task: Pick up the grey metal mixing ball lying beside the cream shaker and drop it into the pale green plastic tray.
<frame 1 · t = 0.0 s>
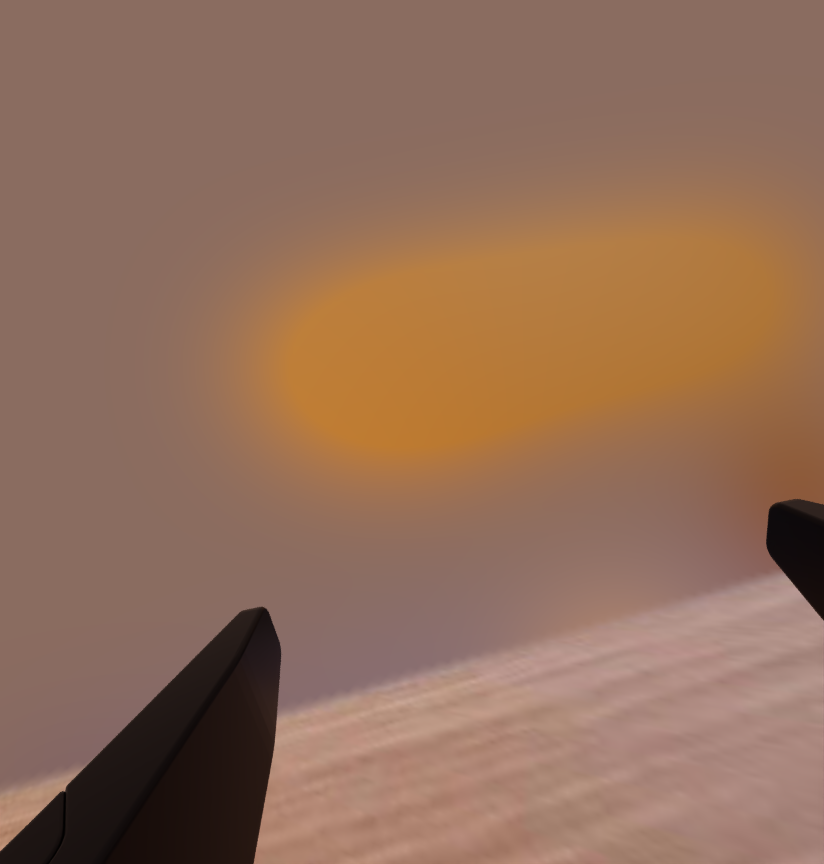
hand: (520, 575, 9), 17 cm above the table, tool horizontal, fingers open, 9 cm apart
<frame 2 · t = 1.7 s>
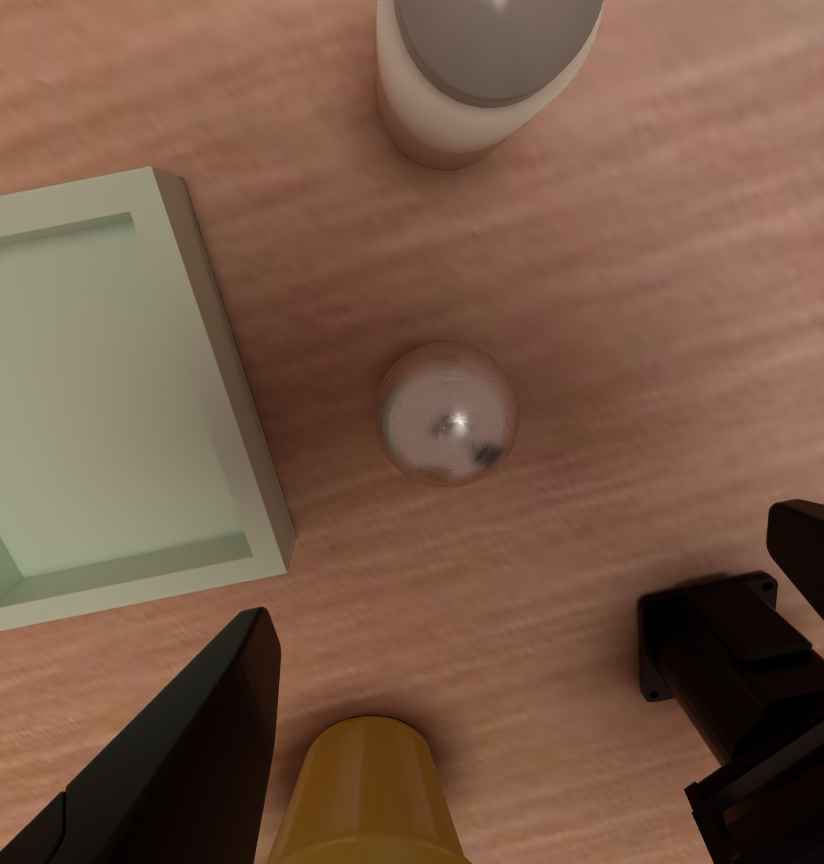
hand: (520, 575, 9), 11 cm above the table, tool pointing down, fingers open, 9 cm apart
plant pot: (366, 755, 26), on the table
shaker: (447, 90, 16), on the table
ball: (437, 395, 19), on the table
tray: (91, 412, 19), on the table
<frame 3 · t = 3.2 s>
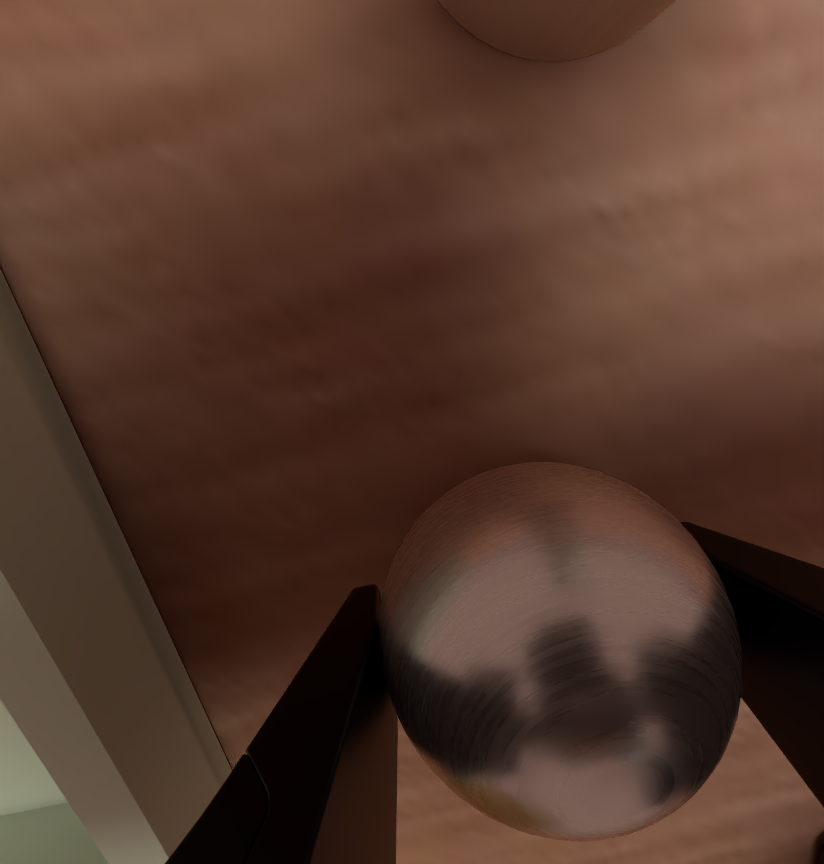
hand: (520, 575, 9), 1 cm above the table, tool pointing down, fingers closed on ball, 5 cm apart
ball: (502, 536, 10), on the table, touching gripper
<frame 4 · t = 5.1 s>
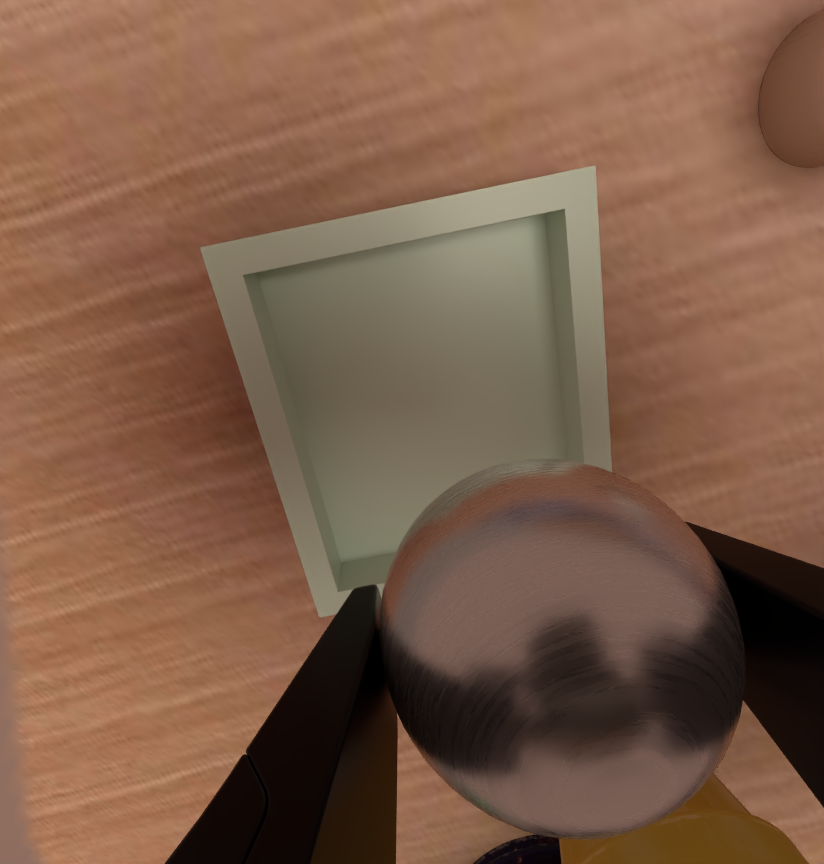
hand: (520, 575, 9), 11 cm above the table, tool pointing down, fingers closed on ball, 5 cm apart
plant pot: (605, 742, 27), on the table
ball: (503, 534, 10), point 10 cm above the table, touching gripper
tray: (430, 403, 19), on the table
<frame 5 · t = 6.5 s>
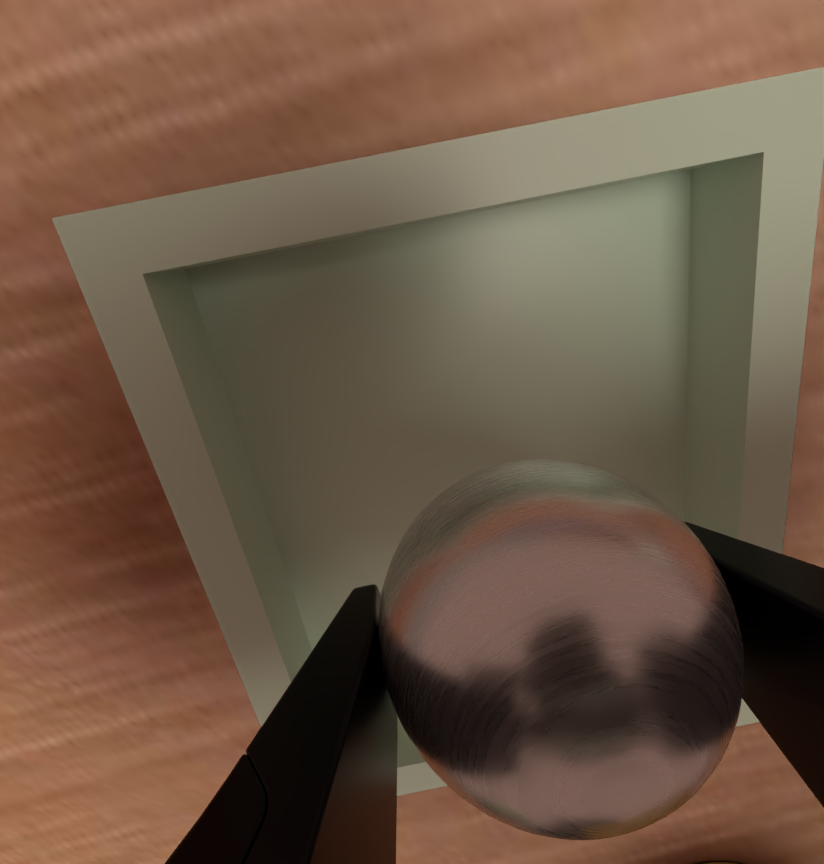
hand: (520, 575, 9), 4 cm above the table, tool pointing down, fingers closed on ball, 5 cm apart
ball: (502, 534, 10), point 3 cm above the table, touching gripper
tray: (475, 479, 12), on the table
when the fingers open (3 cm above the table, at t = 7.4 s): ball drops 2 cm, resting on tray.
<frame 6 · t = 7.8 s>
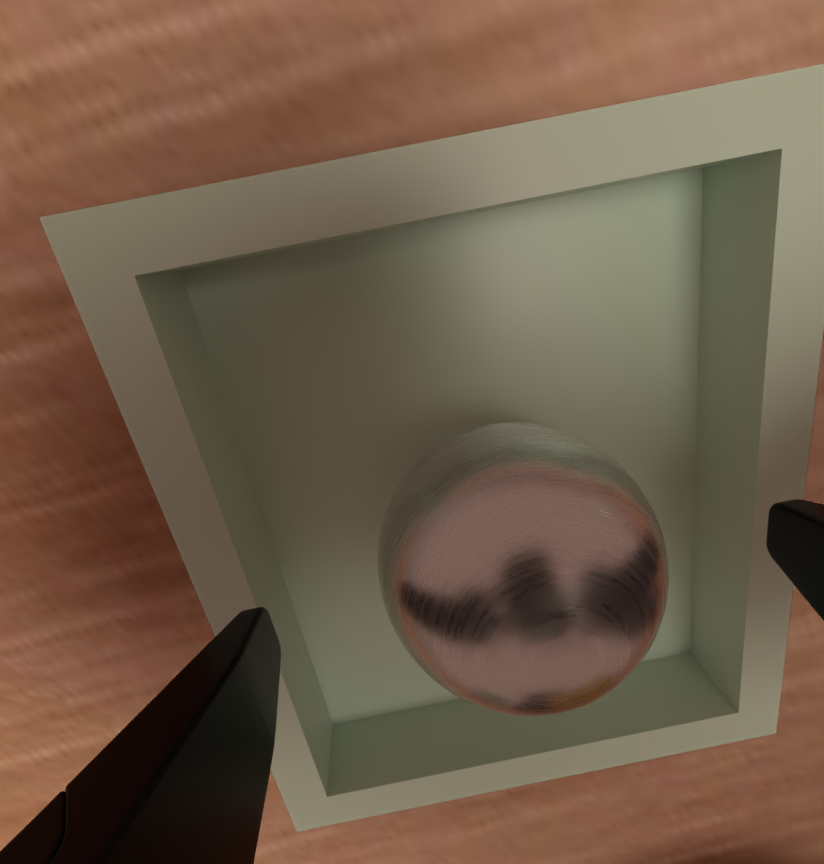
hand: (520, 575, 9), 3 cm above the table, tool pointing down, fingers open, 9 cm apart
ball: (484, 494, 11), point 1 cm above the table, touching tray
tray: (478, 485, 12), on the table
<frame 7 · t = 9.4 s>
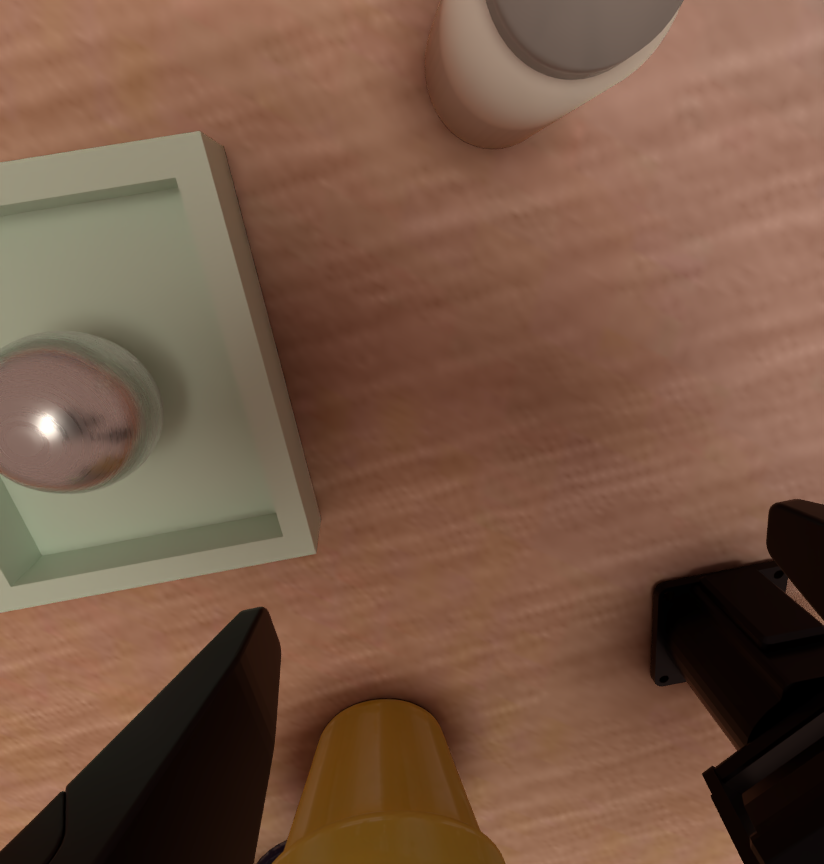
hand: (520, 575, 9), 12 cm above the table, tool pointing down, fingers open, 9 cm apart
plant pot: (379, 738, 26), on the table
shaker: (496, 66, 16), on the table
ball: (110, 390, 18), point 1 cm above the table, touching tray
tray: (117, 387, 18), on the table
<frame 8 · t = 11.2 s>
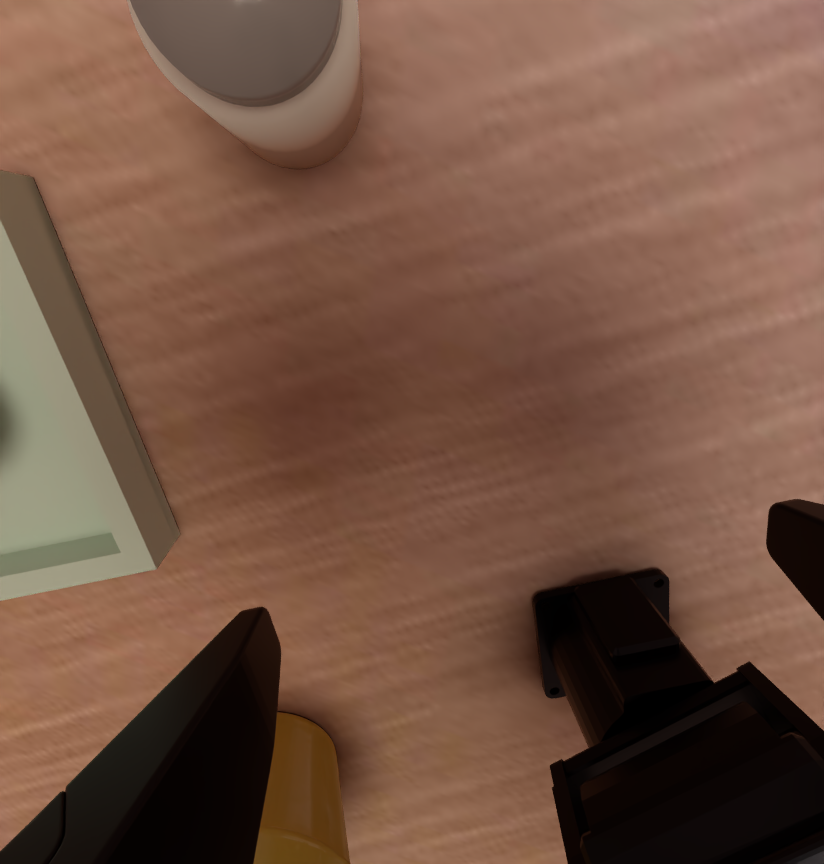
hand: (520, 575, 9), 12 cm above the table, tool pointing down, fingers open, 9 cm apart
plant pot: (273, 751, 26), on the table
shaker: (291, 89, 16), on the table
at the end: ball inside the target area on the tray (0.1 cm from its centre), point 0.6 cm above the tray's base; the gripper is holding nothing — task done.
